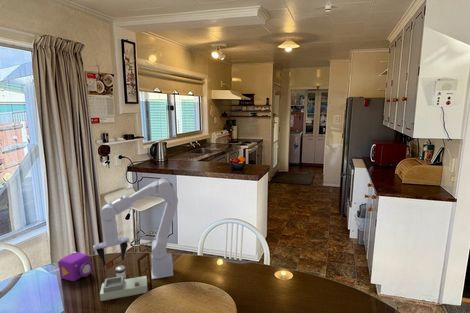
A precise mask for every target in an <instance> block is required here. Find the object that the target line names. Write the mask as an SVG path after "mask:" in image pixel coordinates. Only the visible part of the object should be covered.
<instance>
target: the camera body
mask: <svg viewBox="0 0 470 313" xmlns="http://www.w3.org/2000/svg"><path fill="white" fill-rule="evenodd" d="M147 277H148V276H147V275H143V276H142V275H141V276H137V277H131V278H126V279H124V276H119V277H116V276H114V277H108V278H105V279H104V282H102V284H101V288H100V292H99V300H100V302H102V301H103V302H104V301H109V300H114V299H120V298H125V297H130V296H136V295H141V294H147V293H148V278H147ZM146 292H147V293H146Z"/></svg>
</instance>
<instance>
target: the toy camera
mask: <svg viewBox="0 0 470 313" xmlns="http://www.w3.org/2000/svg"><path fill="white" fill-rule="evenodd" d="M58 268H59V275H60V278H61V279H64V280H67V281H70V282H76V281H78V280H80V279H81V278H85V277H86V278H87V277H88V276H89V275H90V274H91V273H92V271H93V263H92V262H90V257H89V255H88V254H86V253H83V252H78V251H73V252H72V253H70V254H68V255H66V256H64V257H62V258H60V259H59V261H58Z"/></svg>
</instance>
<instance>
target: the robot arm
mask: <svg viewBox="0 0 470 313" xmlns="http://www.w3.org/2000/svg"><path fill="white" fill-rule="evenodd" d="M158 195H159V196H160V197H162V198H163V199H164V200H165V202H166V203H165V206H164V210H163V214H162V216H161V220H160V224H159V226H158V230H157V234H155V237H154V239H153V240H152V241H151V244H150V245H151V246H150V247H151V255H150V259H151V260H150V261H151V272H150V273H151V274H150V275H151V280H158V279H162V278H163V279H164V278H167V277H173V276H174V265H173V264H174V263H173V254H172V253H171V252H170V253H168V252H167V246H168V237H169V233H170V231H171V227H172V223H173V220H174V216H175V213H176V209H177V207H178V203H179V198H178V196H177V193H176V190H175V188H174V185H173V183H172V182H171V181H170V180H169V179H168V178H166V177H162V178H159V179H158V180H155V181H153V182H151V183H149V184H148V185H146V186H144V187H142V188H141V189H139V190H138V191H136V192H134V193H132V194H131V195H126V194H125V195H120V196H119V198H118V199H115V200H114V201H110V202H109V203H107V204H105V205H103V207H102V208H101V211H100V215H99V216H100V218H101V222H102V223H101V224H102V233H103V242H100V243H97V244H94V245H92V249H93V252H96V253H97V255H98V256H99V258H100V259H101V261H102V265H103V266H106V260H105V251H104V249H108V248H111V247H116V246H120V258H121V260H122V261H124V260H125V254H126V251H127V249H128V246H129V245H128V243H131V241H130V237H129V236H127V237H120V238H119V233H118V223H117V222H118V221H117V218H116V215H117V216H118V215H119V214H122V213H123V212H125V211H127V210H129V209H130V208H132V207H133V204H134V203H135V202H137V201H139V200H142V199H144V198H146V197H148V196H158Z"/></svg>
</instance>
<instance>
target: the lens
mask: <svg viewBox="0 0 470 313" xmlns="http://www.w3.org/2000/svg"><path fill="white" fill-rule="evenodd" d="M114 272H115V277H119V276H124V279H127V276H126V266H125V265H118V266H116V267H115V268H114Z"/></svg>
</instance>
